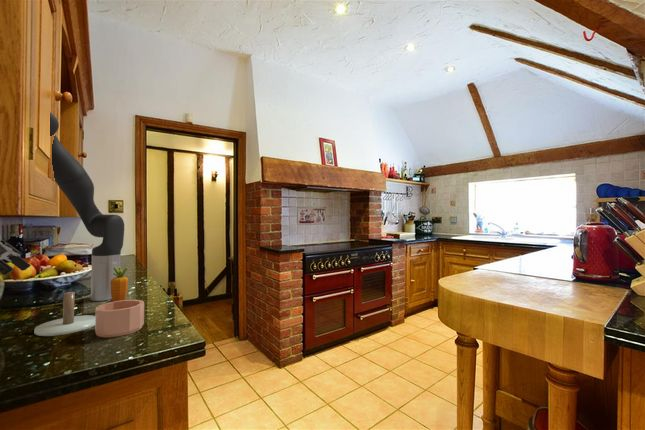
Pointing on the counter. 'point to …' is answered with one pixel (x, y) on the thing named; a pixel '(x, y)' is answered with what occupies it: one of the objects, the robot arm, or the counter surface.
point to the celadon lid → (66, 320)
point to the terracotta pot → (119, 318)
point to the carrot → (119, 285)
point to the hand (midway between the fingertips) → (18, 270)
